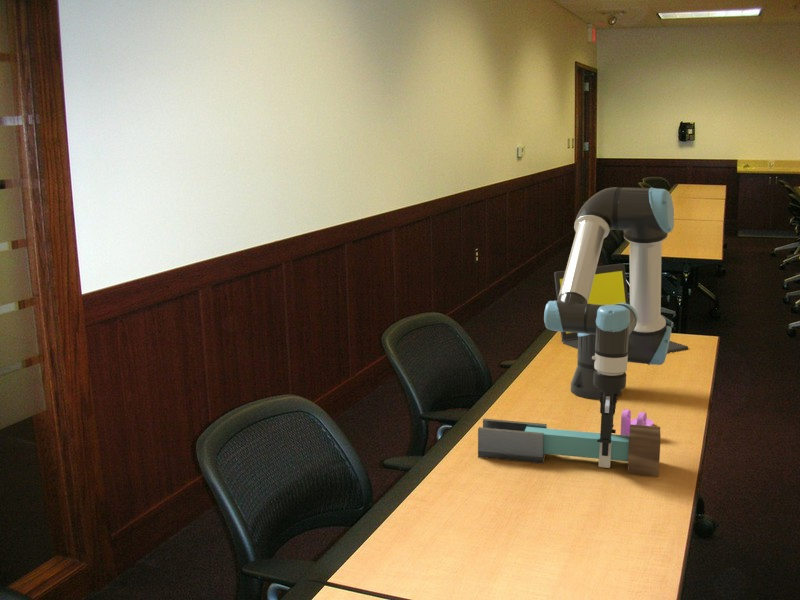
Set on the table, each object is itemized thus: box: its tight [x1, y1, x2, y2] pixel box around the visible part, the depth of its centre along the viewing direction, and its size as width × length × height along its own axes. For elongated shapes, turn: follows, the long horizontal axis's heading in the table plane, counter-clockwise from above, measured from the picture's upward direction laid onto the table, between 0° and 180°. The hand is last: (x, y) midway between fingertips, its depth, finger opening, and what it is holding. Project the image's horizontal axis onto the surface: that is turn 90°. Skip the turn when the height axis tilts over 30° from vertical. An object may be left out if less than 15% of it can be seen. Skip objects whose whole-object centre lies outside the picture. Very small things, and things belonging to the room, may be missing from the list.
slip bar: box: [525, 427, 629, 463], centre depth 203 cm, size 4×26×5 cm, turn 73°
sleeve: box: [477, 418, 548, 465], centre depth 207 cm, size 7×16×8 cm, turn 73°
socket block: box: [627, 424, 661, 478], centre depth 198 cm, size 9×7×9 cm
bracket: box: [620, 408, 654, 436], centre depth 222 cm, size 13×6×7 cm, turn 147°
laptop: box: [553, 263, 689, 354], centre depth 301 cm, size 33×35×26 cm
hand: (605, 462), depth 202 cm, fingers closed on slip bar, 4 cm apart
